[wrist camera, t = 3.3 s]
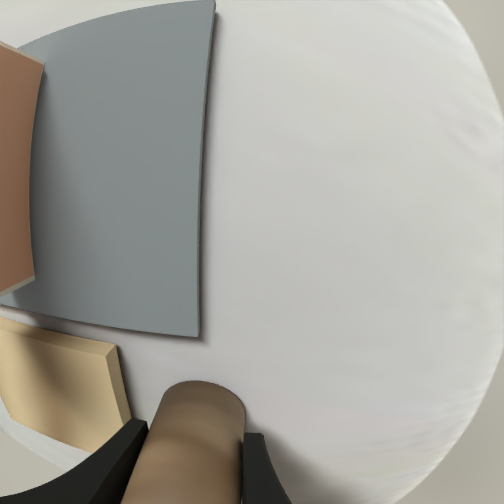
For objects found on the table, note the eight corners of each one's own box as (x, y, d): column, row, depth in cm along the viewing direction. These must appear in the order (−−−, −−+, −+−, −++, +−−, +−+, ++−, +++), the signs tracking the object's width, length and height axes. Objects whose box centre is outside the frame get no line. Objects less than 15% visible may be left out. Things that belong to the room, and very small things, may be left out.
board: (19, 410, 12) (11, 419, 11) (-16, 311, 11) (-28, 318, 10) (142, 452, 12) (136, 465, 11) (115, 344, 10) (105, 356, 10)
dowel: (166, 433, 11) (127, 557, 5) (156, 375, 11) (90, 519, 4) (243, 441, 11) (237, 575, 5) (246, 384, 11) (239, 550, 4)
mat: (-16, 295, 10) (-20, 297, 10) (-10, 66, 8) (-14, 64, 7) (199, 331, 10) (197, 336, 10) (216, 4, 8) (214, -1, 7)
